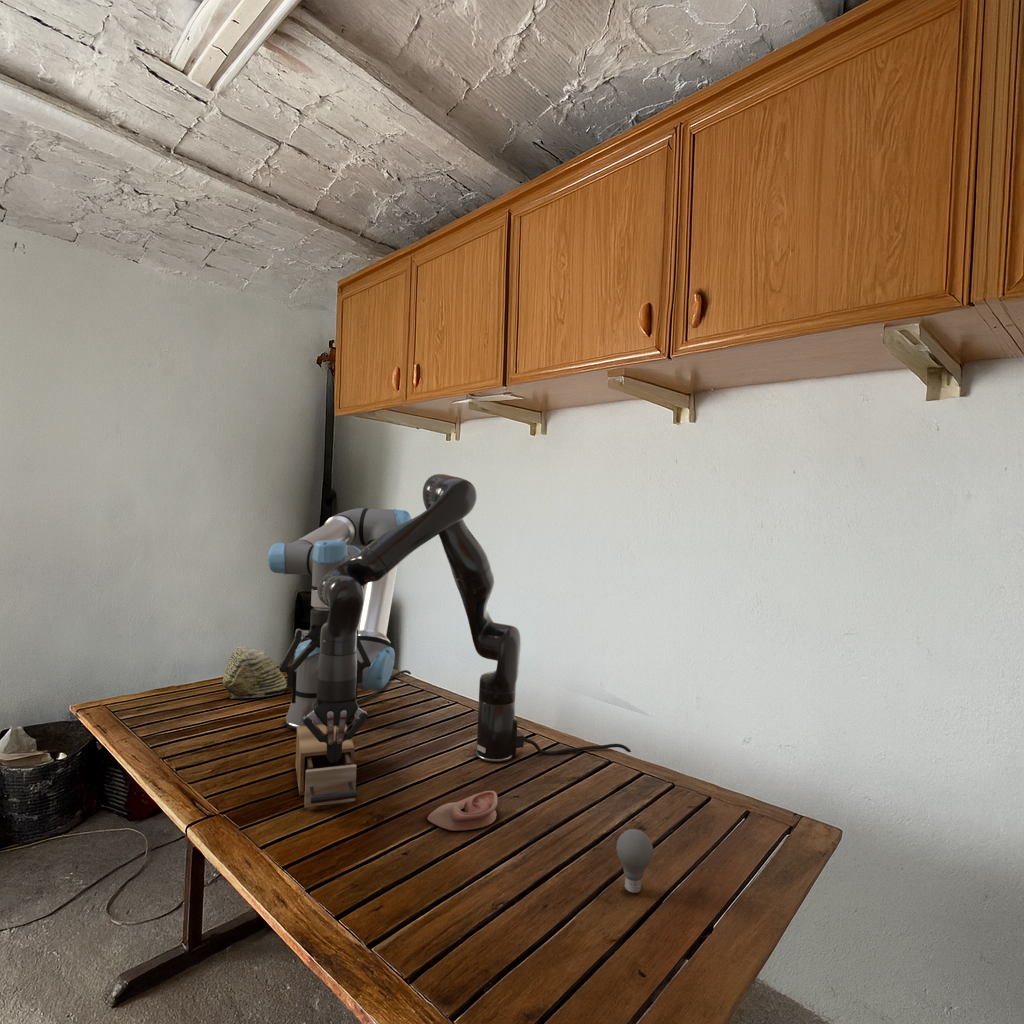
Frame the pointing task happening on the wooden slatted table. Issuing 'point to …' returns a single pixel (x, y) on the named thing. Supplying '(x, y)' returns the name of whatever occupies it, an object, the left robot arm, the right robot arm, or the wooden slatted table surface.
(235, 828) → the wooden slatted table surface
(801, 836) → the wooden slatted table surface
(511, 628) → the right robot arm
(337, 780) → the drawer
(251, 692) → the fossil
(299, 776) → the cabinet
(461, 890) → the wooden slatted table surface
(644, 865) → the light bulb
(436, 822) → the anatomical model
